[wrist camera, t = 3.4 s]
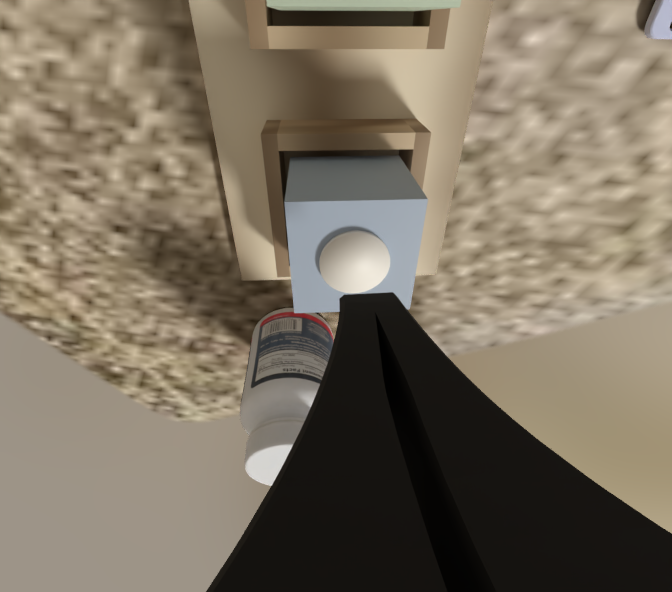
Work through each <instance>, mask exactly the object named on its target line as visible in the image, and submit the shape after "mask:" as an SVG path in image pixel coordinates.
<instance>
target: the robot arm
mask: <svg viewBox="0 0 672 592" xmlns="http://www.w3.org/2000/svg"><path fill="white" fill-rule="evenodd" d="M671 22H672V0H656V1H655V3H654V6H653V8H652V10H651V13H650V15H649V17H648V20H647V22H646V25H645V29H644V30H645V35H646V36H647V38H651V39H672V29H670V24H671ZM339 304H340V314H339V321H338V326H337V331H336V335H335V339H334V343H333V346H332V350H331V354H330V357H329V360H328V363H327V366H326V369H325V372H324V374H323V377H322V380H321V383H320V386H319V388H318V391H317V393H316V396H315V398H314V401H313V403H312V406H311V408H310V410H309V413H308V415H307V417H306V419H305V421H304V424H303V426H302V428H301V430H300V432H299V434H298V436H297V438H296V440H295V442H294V444H293V446H292V448H291V450H290V452H289V454H288V456H287V458H286V460H285V462H284V464H283V466H282V468H281V470H280V471H279V473H278V475H277V477H276V479H275V481H274V482H273V484H272V486H271V488H270V490H269V491H268V493H267V495H266V496H265V498H264V500H263V501H262V503H261V505H260V507H259V508H258V510H257V512H256V513H255V515H254V517H253V519H252V520H251V522H250V523H249V525H248V527H247V529H246V530H245V532H244V534H243V535H242V537H241V539H240V540H239V542H238V544H237V545H236V547H235V548H234V550H233V552H232V553H231V555H230V556H229V558H228V559H227V561H226V562H225V564H224V565H223V567H222V568H221V570H220V571H219V573H218V575H217V576H216V578H215V579H214V580H213V582H212V584H211V585H210V587H209V588H208V590H207V591H206V592H672V534H671V533H670V532H668V531H666V530H665V529H663V528H662V527H660V526H658V525H657V524H656V523H654V522H653V521H651V520H650V519H648V518H647V517H645V516H643V515H642V514H641V513H639V512H638V511H636V510H635V509H633V508H632V507H630V506H629V505H627V504H626V503H624V502H623V501H622V500H620V499H619V498H617V497H616V496H614V495H613V494H611V493H609V492H608V491H607V490H605V489H604V488H602V487H601V486H600V485H598V484H597V483H595V482H594V481H592V480H591V479H590V478H588V477H587V476H586V475H584V474H583V473H582V472H580V471H579V470H578V469H576V468H575V467H574V466H572V465H571V464H570V463H568V462H567V461H566V460H564V459H563V458H561V457H560V456H559V455H557V454H556V453H555V452H554V451H552V450H551V449H550V448H548V447H547V446H546V445H544V444H543V443H542V442H540V441H539V440H538V439H536V438H535V437H534V436H533V435H531V434H530V433H529V432H528V431H527V430H525V429H524V428H523V427H522V426H520V425H519V424H518V423H517V422H516V421H514V420H513V419H512V418H511V417H510V416H509V415H507V414H506V413H505V412H504V411H503V410H501V408H499V407H498V406H497V405H496V404H495V403H494V402H493V401H492V400H490V399H489V398H488V397H487V396H486V395H485V394H484V393H483V392H482V391H481V390H480V389H479V388H477V386H476V385H474V384H473V383H472V382H471V381H470V380H469V379H468V378H467V377H466V376H465V375H464V374H463V373H462V372H461V371H460V370H459V369H458V368H457V367H456V366H455V365H454V363H453V362H452V361H451V360H450V359H449V358H448V357H447V356H446V355H445V354H444V353H443V351H442V350H441V349H440V348H439V347H438V346H437V345H436V344H435V343H434V341H433V340H432V339H431V338H430V337H429V336H428V335H427V333H426V332H425V331H424V330H423V329H422V328H421V326H420V325H419V324H418V323H417V321H416V320H415V319H414V318H413V316H412V315H411V314H410V313H409V311H408V310H407V309H406V308H405V306H404V305H403V304H402V302H401V301H400V300H399V298H398V297H397V296H396V295H395V294H394V293H393V292H388V293H367V294H347V295H343V296H342V297H341V298H340V299H339Z"/></svg>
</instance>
